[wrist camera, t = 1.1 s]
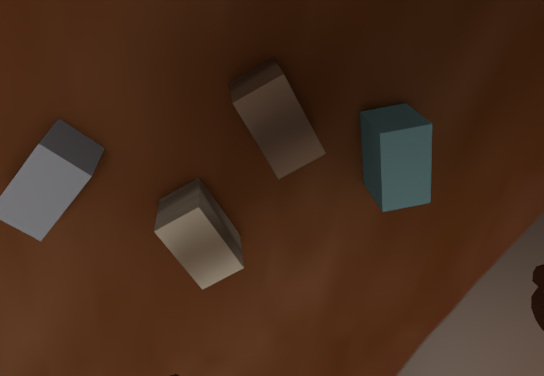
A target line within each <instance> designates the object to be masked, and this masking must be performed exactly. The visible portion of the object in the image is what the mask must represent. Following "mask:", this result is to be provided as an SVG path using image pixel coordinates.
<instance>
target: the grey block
mask: <svg viewBox="0 0 544 376" xmlns="http://www.w3.org/2000/svg"><path fill="white" fill-rule="evenodd" d="M104 149H105V148H103V147H102V146H100V145H99V144H97V143H96V142H94V141H93V140H91V139H90V138H88V137H87V136H85V135H84V134H82V133H80V132H79V131H77V130H76V129H74V128H73V127H71V126H70V125H68V124H67V123H65V122H64V121H62V120H61V119H58V120H57V121H56V122H55V124H54V125H53V126H52V128H51V129H50V130H49V131H48V133H47V134H46V135H45V136H44V138H43V139H42V140H41V141H40V143H39V144H38V145H37V147H36V148H35V149H34V151H33V152H32V154H31V155H30V156H29V158H28V159H27V160H26V162H25V163H24V165H23V166H22V167H21V169H20V170H19V172H18V173H17V174H16V176H15V177H14V178H13V180H12V181H11V183H10V184H9V185H8V187H7V188H6V189H5V191H4V192H3V194H2V195H1V196H0V220H2V221H4V222H6V223H7V224H9V225H11V226H13V227H15V228H17V229H19V230H21V231H23V232H24V233H26V234H28V235H30V236H32V237H34V238H36V239H38V240H39V241H41V240H42V239H43V238H44V237H45V235H46V234H47V233H48V231H49V230H50V229H51V228H52V226H53V225H54V224H55V223H56V221H57V220H58V219H59V217H60V216H61V215H62V214H63V212H64V211H65V210H66V209H67V207H68V206H69V205H70V204H71V202H72V201H73V200H74V198H75V197H76V196H77V195H78V193H79V192H80V191H81V190H82V188H83V187H84V186H85V184H86V183H87V182H88V181H89V179H90V178H91V177H92V175H93V173H94V171H95V169H96V166H97V164H98V162H99V160H100V158H101V156H102V153H103V151H104Z"/></svg>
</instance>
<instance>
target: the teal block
mask: <svg viewBox="0 0 544 376" xmlns="http://www.w3.org/2000/svg"><path fill="white" fill-rule="evenodd" d="M360 125H361V143H362V162H363V180H364V185H365V186H366V188H367V189H368V191H369V192H370V194H371V195H372V197H373V198H374V200H375V201H376V203H377V204H378V206H379V207H380V209H381V210H382V212H385V211H391V210H396V209H401V208H406V207H411V206H416V205H421V204H426V203H430V201H431V161H432V123H431V122H429V121H428V120H427V119H426V118H424V117H423V116H422V115H421V114H419V113H418V112H417V111H416V110H414V109H413V108H412V107H411V106H409V105H408V104H407V103H404V104H399V105H393V106H388V107H382V108H377V109H371V110H366V111H361V112H360Z"/></svg>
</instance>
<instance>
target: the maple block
mask: <svg viewBox="0 0 544 376" xmlns="http://www.w3.org/2000/svg"><path fill="white" fill-rule="evenodd" d="M154 232H155V233H156V234H157V236H158V237H159V238H160V239H161V240H162V242H163V243H164V244H165V245H166V246H167V248H168V249H169V250H170V251H171V252H172V254H173V255H174V256H175V257H176V259H177V260H178V261H179V262H180V263H181V265H182V266H183V267H184V268H185V269H186V271H187V272H188V273H189V274H190V275H191V277H192V278H193V279H194V280H195V281H196V283H197V284H198V285H199V286H200V287H201V289H202V290H203V289H204V288H206V287H208V286H210V285H212V284H214V283H216V282H218V281H220V280H222V279H224V278H226V277H228V276H229V275H231V274H233V273H235V272H237V271H239V270H241V269H243V268H244V265H243V257H242V249H241V241H240V234H239V233H238V231H237V230H236V228H235V227H234V226H233V224H232V223H231V221H230V220H229V219H228V217H227V216H226V214H225V213H224V212H223V210H222V209H221V207H220V206H219V205H218V203H217V202H216V200H215V199H214V198H213V196H212V195H211V193H210V192H209V191H208V189H207V188H206V186H205V185H204V183H203V182H202V181H201V179H200V178H197V179H196V180H194V181H192V182H190V183H188V184H187V185H185V186H183V187H181V188H179V189H178V190H176V191H174V192H172V193H170V194H169V195H167V196H165V197H163V198H161V199H160V200H159V205H158V211H157V217H156V223H155V229H154Z"/></svg>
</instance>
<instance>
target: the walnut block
mask: <svg viewBox="0 0 544 376" xmlns="http://www.w3.org/2000/svg"><path fill="white" fill-rule="evenodd" d="M229 88H230V93H231V99H232V104H233V105H234V107H235V108H236V110H237V112H238V113H239V115H240V117H241V118H242V120H243V122H244V123H245V125H246V126H247V128H248V130H249V131H250V133H251V135H252V136H253V138H254V140H255V141H256V143H257V145H258V146H259V148H260V149H261V151H262V153H263V154H264V156H265V158H266V159H267V161H268V163H269V164H270V166H271V168H272V169H273V171H274V172H275V174H276V176H277V177H278V179H280V178H282V177H284V176H286V175H288V174H289V173H291V172H293V171H295V170H297V169H299V168H301V167H302V166H304V165H306V164H308V163H310V162H312V161H314V160H315V159H317V158H319V157H321V156H323V155H325V154H326V153H325V151H324V149H323V147H322V145H321V143H320V141H319V140H318V138H317V136H316V134H315V132H314V130H313V128H312V126H311V124H310V123H309V121H308V119H307V117H306V115H305V113H304V111H303V109H302V107H301V106H300V104H299V102H298V100H297V98H296V96H295V94H294V92H293V90H292V89H291V87H290V85H289V83H288V81H287V79H286V77H285V75H284V73H283V72H282V70H281V68H280V67H279V65H278V63H277V62H276V60H275V58H274V57H273V58H271V59H270V60H268V61H266V62H264V63H263V64H261V65H259V66H257V67H256V68H254V69H252V70H251V71H249V72H247V73H245V74H244V75H242V76H240V77H238V78H237V79H235V80H233V81H231V82H230V83H229Z"/></svg>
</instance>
